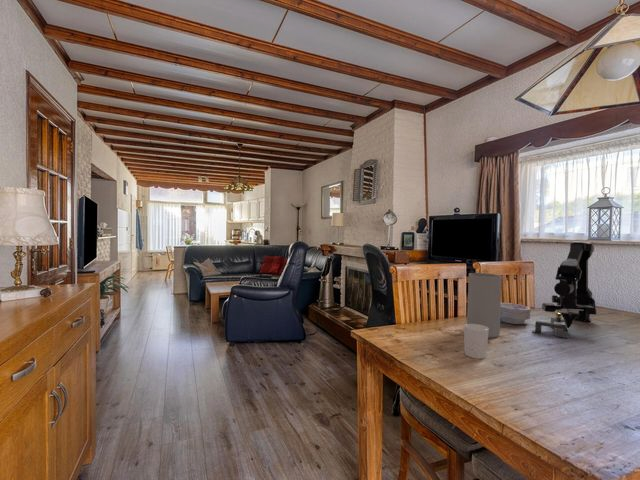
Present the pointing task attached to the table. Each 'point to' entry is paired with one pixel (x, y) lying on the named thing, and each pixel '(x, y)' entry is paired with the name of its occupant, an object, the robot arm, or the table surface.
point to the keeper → (540, 324)
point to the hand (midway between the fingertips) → (568, 327)
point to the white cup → (475, 340)
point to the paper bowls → (514, 313)
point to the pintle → (558, 315)
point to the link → (560, 331)
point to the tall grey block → (485, 301)
